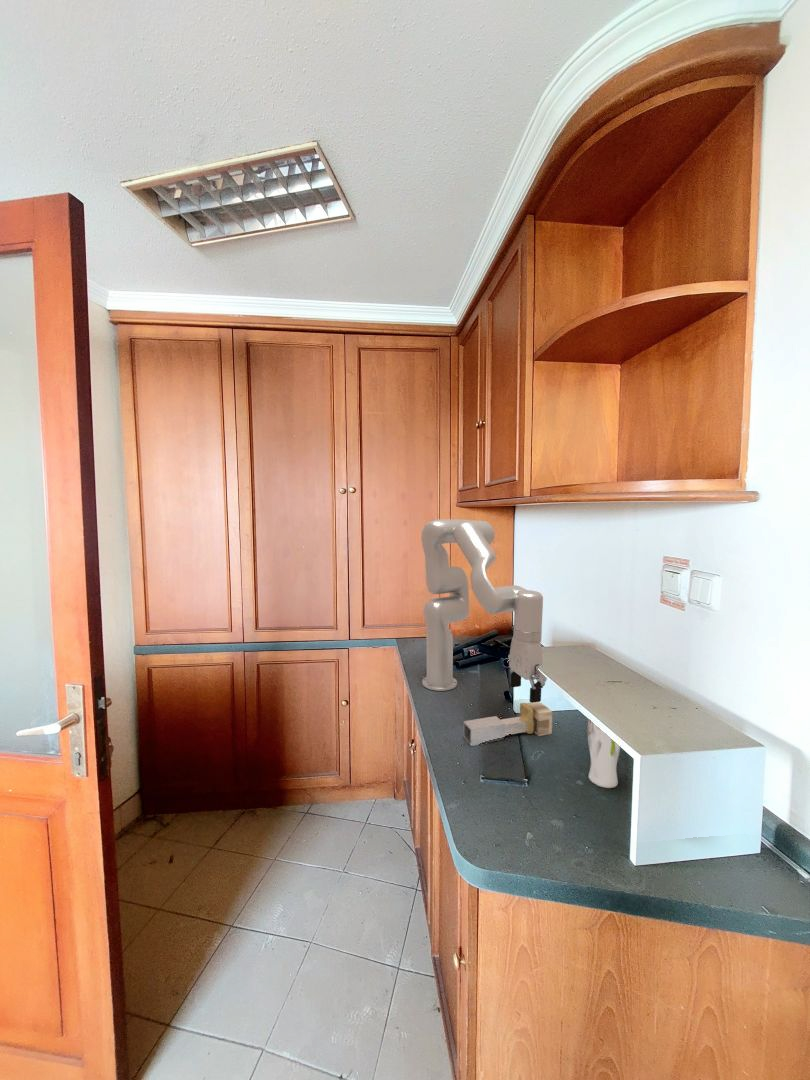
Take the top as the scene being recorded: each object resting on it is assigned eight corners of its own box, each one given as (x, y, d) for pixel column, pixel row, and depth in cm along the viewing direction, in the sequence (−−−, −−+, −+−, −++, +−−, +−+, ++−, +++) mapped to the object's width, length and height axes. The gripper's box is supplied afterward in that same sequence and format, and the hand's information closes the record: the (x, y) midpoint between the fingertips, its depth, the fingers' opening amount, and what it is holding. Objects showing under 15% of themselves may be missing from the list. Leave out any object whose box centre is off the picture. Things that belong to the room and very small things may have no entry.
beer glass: (624, 791, 91) (625, 725, 90) (590, 787, 93) (592, 722, 92) (614, 772, 98) (616, 711, 97) (583, 769, 100) (584, 708, 99)
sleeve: (463, 737, 114) (463, 721, 114) (496, 731, 117) (496, 716, 117) (471, 746, 110) (471, 729, 109) (504, 740, 112) (504, 723, 112)
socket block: (525, 724, 121) (525, 703, 120) (538, 722, 122) (538, 701, 121) (538, 736, 114) (539, 713, 114) (551, 733, 116) (552, 711, 115)
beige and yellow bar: (488, 732, 116) (488, 708, 115) (537, 723, 120) (538, 700, 120) (495, 739, 112) (496, 714, 112) (546, 730, 117) (546, 706, 116)
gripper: (499, 627, 123) (497, 682, 124) (533, 646, 106) (531, 710, 108) (521, 625, 125) (519, 680, 126) (558, 643, 108) (555, 706, 110)
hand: (525, 693), depth 117 cm, fingers open, 9 cm apart
